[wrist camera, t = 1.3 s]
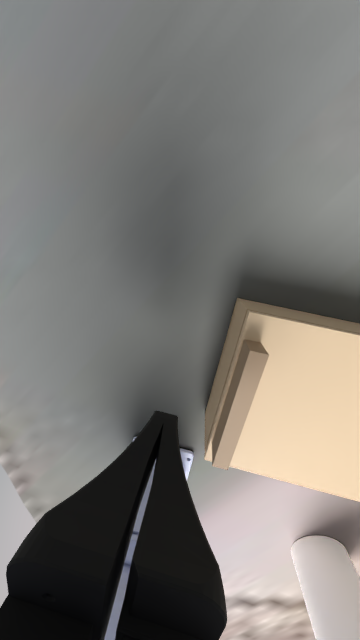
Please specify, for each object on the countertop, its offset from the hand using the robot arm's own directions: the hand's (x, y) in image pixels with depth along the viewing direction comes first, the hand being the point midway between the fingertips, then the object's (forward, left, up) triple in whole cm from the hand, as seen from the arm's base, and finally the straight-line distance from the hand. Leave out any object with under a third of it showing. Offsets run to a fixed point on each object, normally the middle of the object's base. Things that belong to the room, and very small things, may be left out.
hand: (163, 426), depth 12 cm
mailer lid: (0, -12, -5) cm, 13 cm away
